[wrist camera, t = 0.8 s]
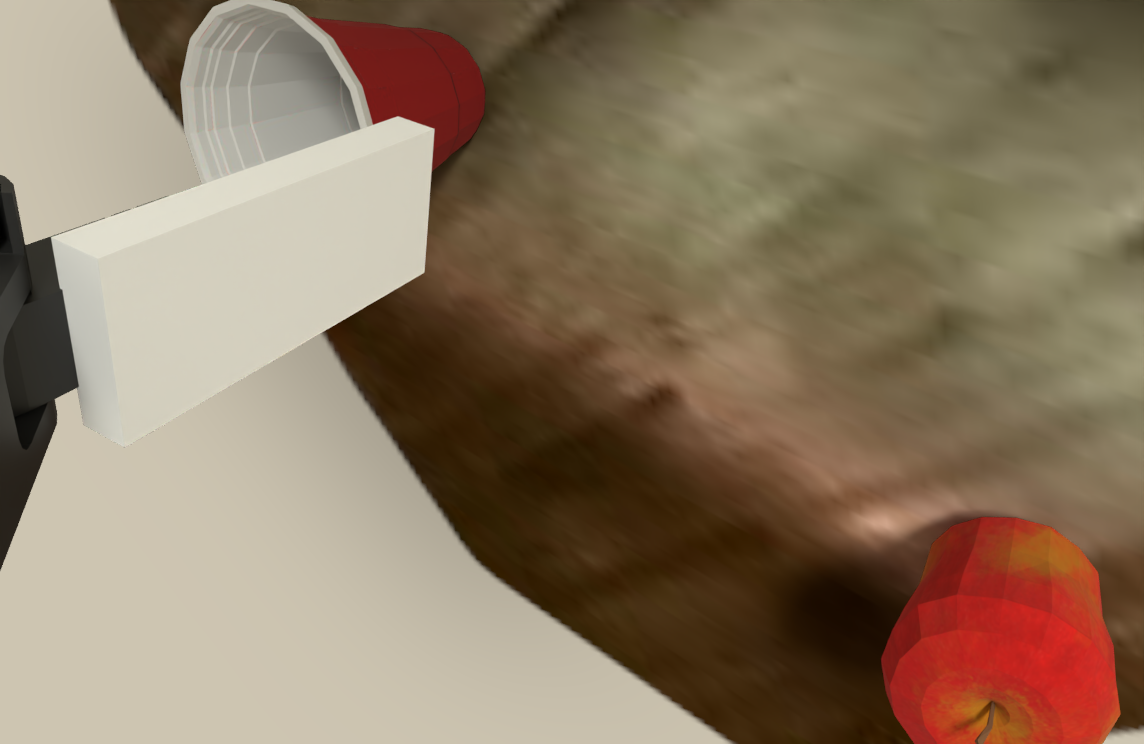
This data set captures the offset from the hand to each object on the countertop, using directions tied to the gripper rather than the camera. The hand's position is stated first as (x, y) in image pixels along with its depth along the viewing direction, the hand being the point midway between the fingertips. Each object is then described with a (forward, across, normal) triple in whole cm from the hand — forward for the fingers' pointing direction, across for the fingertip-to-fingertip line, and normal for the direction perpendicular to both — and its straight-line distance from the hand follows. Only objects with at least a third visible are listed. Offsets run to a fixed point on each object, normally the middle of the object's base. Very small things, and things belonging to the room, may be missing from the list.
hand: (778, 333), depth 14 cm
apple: (+27, +9, -21) cm, 35 cm away
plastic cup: (+27, -24, -8) cm, 37 cm away
